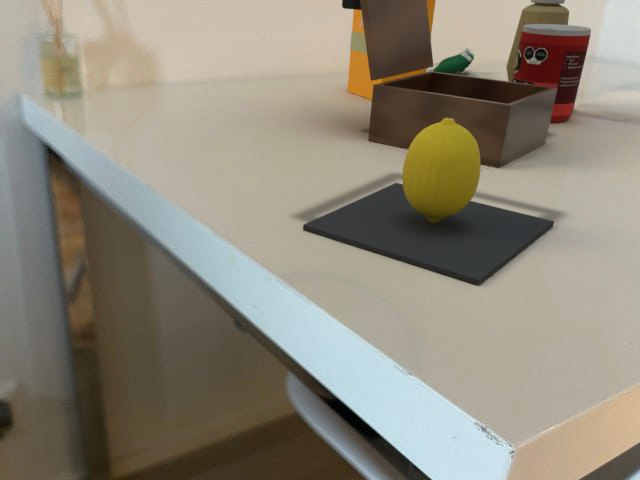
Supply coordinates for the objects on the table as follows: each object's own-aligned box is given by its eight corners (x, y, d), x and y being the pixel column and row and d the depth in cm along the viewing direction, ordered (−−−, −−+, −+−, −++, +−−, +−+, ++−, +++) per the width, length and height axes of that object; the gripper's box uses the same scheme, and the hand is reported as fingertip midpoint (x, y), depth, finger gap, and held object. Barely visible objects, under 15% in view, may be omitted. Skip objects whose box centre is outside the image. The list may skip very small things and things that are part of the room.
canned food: (502, 108, 91) (518, 22, 86) (564, 112, 90) (584, 25, 85) (510, 120, 84) (527, 28, 79) (576, 124, 83) (598, 31, 78)
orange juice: (378, 102, 93) (394, -58, 84) (346, 91, 100) (357, -58, 91) (424, 99, 96) (444, -57, 87) (389, 88, 103) (404, -57, 94)
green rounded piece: (444, 89, 113) (474, 65, 110) (430, 71, 113) (460, 47, 109) (450, 80, 121) (478, 58, 118) (437, 64, 120) (465, 41, 117)
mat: (553, 225, 52) (554, 221, 52) (478, 285, 42) (479, 279, 42) (395, 186, 60) (396, 182, 60) (302, 229, 50) (303, 224, 50)
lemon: (449, 242, 47) (467, 131, 44) (383, 222, 51) (394, 117, 47) (483, 222, 51) (502, 118, 47) (419, 205, 54) (433, 106, 51)
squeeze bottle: (495, 93, 101) (518, -39, 93) (510, 85, 107) (533, -39, 99) (550, 100, 97) (579, -37, 89) (563, 92, 103) (591, -37, 95)
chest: (545, 143, 75) (557, 87, 72) (499, 167, 66) (511, 105, 63) (423, 121, 83) (430, 70, 81) (367, 140, 74) (373, 84, 72)
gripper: (364, -199, 61) (348, 14, 70) (438, -176, 72) (416, 8, 80) (299, -190, 66) (292, 10, 74) (378, -170, 76) (363, 4, 84)
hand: (356, 8), depth 77 cm, fingers closed
